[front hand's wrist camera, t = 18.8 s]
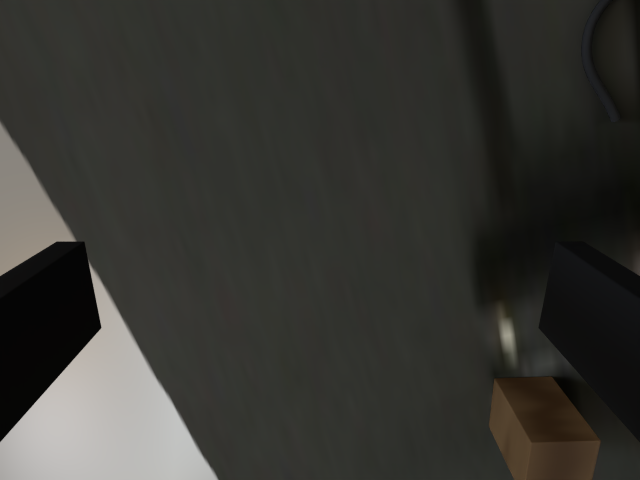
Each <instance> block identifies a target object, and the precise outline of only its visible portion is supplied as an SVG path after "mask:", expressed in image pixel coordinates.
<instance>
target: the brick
mask: <svg viewBox="0 0 640 480" xmlns="http://www.w3.org/2000/svg"><path fill="white" fill-rule="evenodd" d="M489 427H490V429H491V432H492V434H493V436H494V438H495V440H496V442H497V444H498V446H499V448H500V450H501V453H502V455H503V457H504V459H505V461H506V463H507V465H508V467H509V469H510V472H511V474H512V476H513V478H514V480H592V478H593V473H594V469H595V465H596V460H597V456H598V451H599V447H600V443H601V441H600V439H599V438H598V437H597V435H596V434H595V433H594V431H593V430H592V429H591V427H590V426H589V425H588V424H587V422H586V421H585V420H584V418H583V417H582V416H581V414H580V413H579V412H578V410H577V409H576V408H575V407H574V405H573V404H572V403H571V401H570V400H569V399H568V397H567V396H566V395H565V393H564V392H563V391H562V390H561V388H560V387H559V386H558V384H557V383H556V382H555V380H554V379H553V378H552V377H521V378H495V379H494V387H493V395H492V404H491V413H490V422H489Z"/></svg>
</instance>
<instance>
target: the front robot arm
mask: <svg viewBox="0 0 640 480" xmlns="http://www.w3.org/2000/svg"><path fill="white" fill-rule="evenodd" d="M611 1H612V0H600V2H599V3H598V4H597V5H596V7H595V8H594V10H593V11H592V13H591V15H590V17H589V19H588V21H587V23H586V26H585V29H584V33H583V38H582V47H581V48H582V62H583V66H584V70H585V72H586V75H587V77H588V79H589V81H590V83H591V85H592V87H593V88H594V90H595V92H596V93H597V95H598V97H599V98H600V100H601V102H602V103H603V105H604V107H605V109H606V111H607V113H608V115H609V118H610V120H611V122H615V121H618V120H620V119H621V117H620V115H619V112H618V110H617V108H616V106H615V104H614V102H613V100H612V98H611V96H610V95H609V93H608V91H607V90H606V88H605V86H604V85H603V83H602V81H601V80H600V78H599V76H598V74H597V71H596V69H595V66H594V63H593V58H592V39H593V34H594V30H595V27H596V24H597V22H598V20H599V18H600V16H601V14H602V13H603V11H604V10H605V9H606V7H607V6H608V5H609V4H610V3H611ZM100 329H101V323H100V319H99V313H98V308H97V303H96V298H95V293H94V288H93V283H92V278H91V273H90V268H89V263H88V258H87V253H86V248H85V243H84V242H55V243H54V244H52V245H51V246H49V247H47V248H46V249H44V250H42V251H41V252H39V253H37V254H36V255H34V256H32V257H31V258H29V259H28V260H26V261H24V262H23V263H21V264H19V265H18V266H16V267H15V268H13V269H11V270H10V271H8V272H6V273H5V274H3V275H1V276H0V442H1V440H2V439H3V438H4V437H5V436H6V435H7V434H8V433H9V431H10V430H11V429H12V428H13V427H14V426H15V425H16V424H17V422H18V421H19V420H20V419H21V418H22V417H23V416H24V414H25V413H26V412H27V411H28V410H29V409H30V408H31V407H32V405H33V404H34V403H35V402H36V401H37V400H38V399H39V398H40V396H41V395H42V394H43V393H44V392H45V391H46V390H47V389H48V387H49V386H50V385H51V384H52V383H53V382H54V381H55V380H56V378H57V377H58V376H59V375H60V374H61V373H62V372H63V370H64V369H65V368H66V367H67V366H68V365H69V364H70V363H71V362H72V360H73V359H74V358H75V357H76V356H77V355H78V354H79V352H80V351H81V350H82V349H83V348H84V347H85V346H86V345H87V343H88V342H89V341H90V340H91V339H92V338H93V337H94V336H95V334H96V333H97V332H98V331H99V330H100ZM539 329H540V330H541V331H542V332H543V333H544V334H545V336H546V337H547V338H548V339H549V340H550V341H551V342H552V343H553V345H554V346H555V347H556V348H557V349H558V350H559V351H560V352H561V354H562V355H563V356H564V357H565V358H566V359H567V360H568V362H569V363H570V364H571V365H572V366H573V367H574V368H575V369H576V371H577V372H578V373H579V374H580V375H581V376H582V377H583V378H584V380H585V381H586V382H587V383H588V384H589V385H590V386H591V387H592V389H593V390H594V391H595V392H596V393H597V394H598V395H599V396H600V398H601V399H602V400H603V401H604V402H605V403H606V404H607V406H608V407H609V408H610V409H611V410H612V411H613V412H614V413H615V415H616V416H617V417H618V418H619V419H620V420H621V421H622V422H623V424H624V425H625V426H626V427H627V428H628V429H629V430H630V431H631V433H632V434H633V435H634V436H635V437H636V438H637V439H638V440H639V442H640V276H639V275H637V274H635V273H634V272H632V271H630V270H629V269H627V268H626V267H624V266H622V265H621V264H619V263H617V262H616V261H614V260H612V259H611V258H609V257H608V256H606V255H604V254H603V253H601V252H599V251H598V250H596V249H594V248H593V247H591V246H589V245H588V244H586V243H585V242H556V243H555V248H554V253H553V258H552V263H551V268H550V273H549V278H548V283H547V288H546V293H545V298H544V303H543V308H542V313H541V318H540V323H539Z"/></svg>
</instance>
